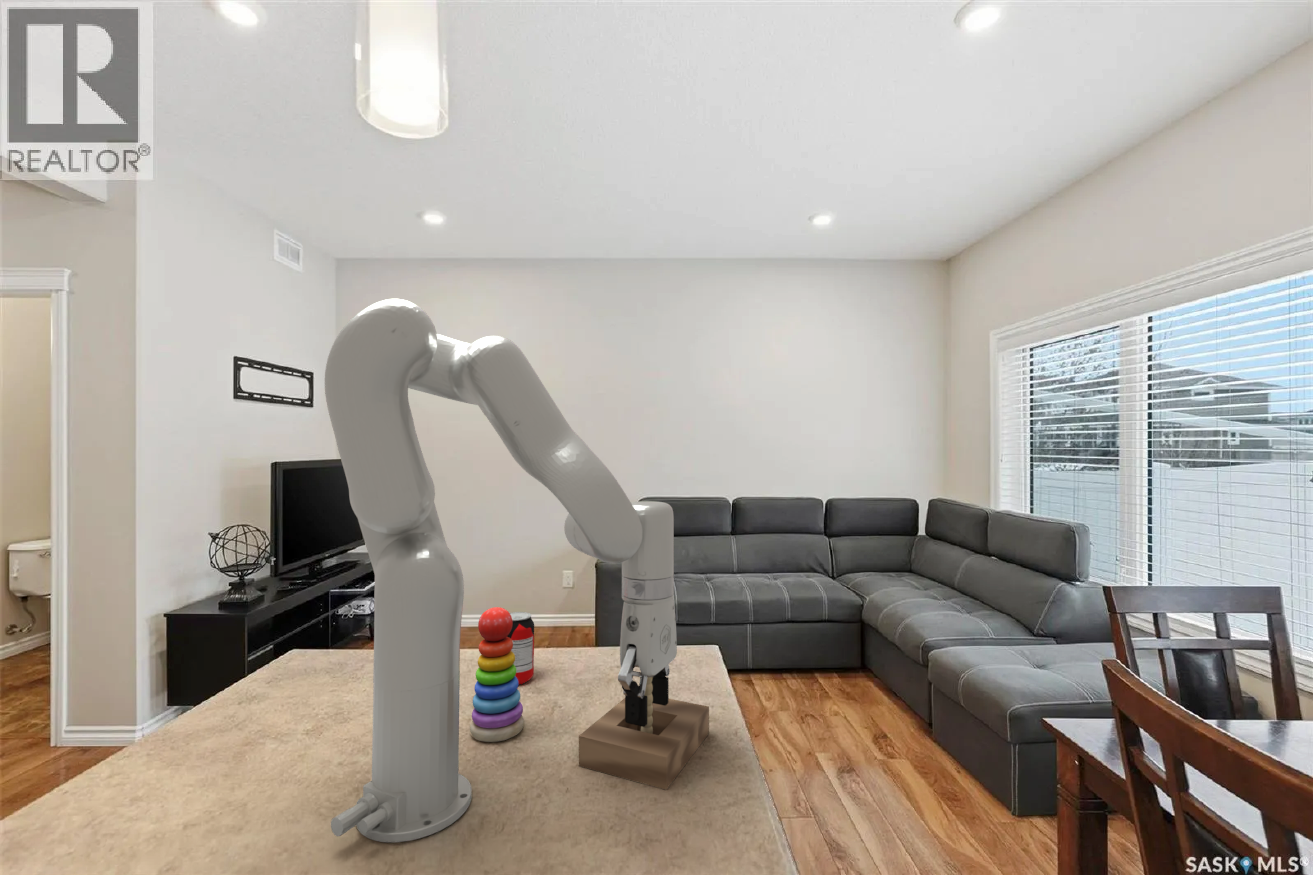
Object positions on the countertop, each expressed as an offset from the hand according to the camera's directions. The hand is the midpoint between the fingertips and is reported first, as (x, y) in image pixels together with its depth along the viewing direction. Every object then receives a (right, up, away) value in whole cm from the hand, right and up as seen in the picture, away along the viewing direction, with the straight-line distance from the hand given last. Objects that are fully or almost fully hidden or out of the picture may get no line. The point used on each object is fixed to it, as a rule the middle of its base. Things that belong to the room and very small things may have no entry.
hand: (647, 712), depth 81 cm
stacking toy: (-23, -6, +5) cm, 24 cm away
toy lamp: (0, -5, -1) cm, 5 cm away
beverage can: (-25, -6, +24) cm, 36 cm away
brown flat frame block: (0, -5, 0) cm, 5 cm away
